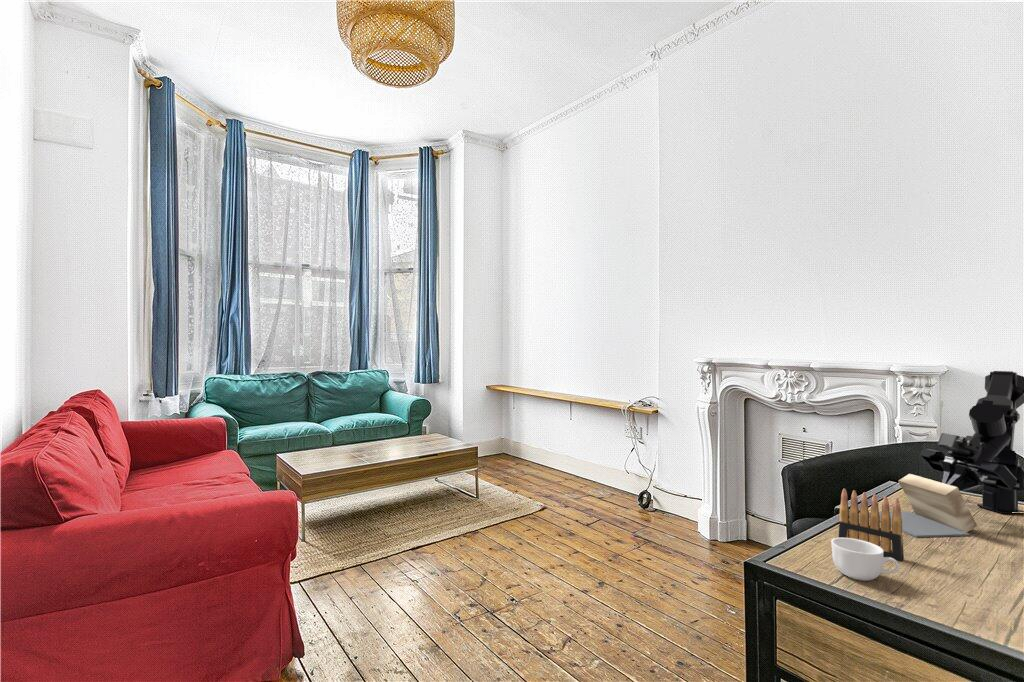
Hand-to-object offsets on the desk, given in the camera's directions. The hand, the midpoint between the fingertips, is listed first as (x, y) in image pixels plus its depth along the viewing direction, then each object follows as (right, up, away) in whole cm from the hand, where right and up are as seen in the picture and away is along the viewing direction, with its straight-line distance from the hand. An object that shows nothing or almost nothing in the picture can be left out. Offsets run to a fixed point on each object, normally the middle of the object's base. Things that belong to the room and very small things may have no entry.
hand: (942, 493), depth 117 cm
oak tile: (+1, -7, 0) cm, 7 cm away
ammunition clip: (-29, -7, -17) cm, 35 cm away
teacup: (-38, -7, -28) cm, 48 cm away
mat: (-8, -7, -1) cm, 11 cm away
